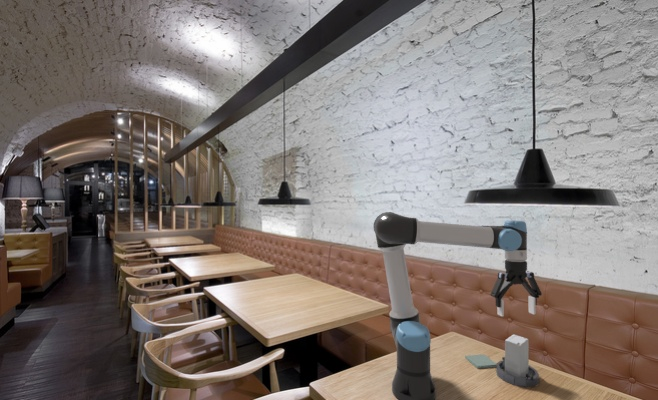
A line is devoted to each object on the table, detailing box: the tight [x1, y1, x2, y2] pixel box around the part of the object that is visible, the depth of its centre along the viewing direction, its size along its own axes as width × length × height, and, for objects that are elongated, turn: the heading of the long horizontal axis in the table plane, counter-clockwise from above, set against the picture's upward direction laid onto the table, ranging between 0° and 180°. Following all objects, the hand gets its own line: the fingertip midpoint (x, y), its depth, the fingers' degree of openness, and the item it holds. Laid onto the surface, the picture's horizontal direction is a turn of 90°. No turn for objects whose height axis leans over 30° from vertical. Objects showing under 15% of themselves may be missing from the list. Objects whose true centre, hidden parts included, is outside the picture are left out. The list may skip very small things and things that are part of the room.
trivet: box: [464, 353, 497, 369], centre depth 136 cm, size 9×9×1 cm
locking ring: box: [495, 356, 540, 388], centre depth 124 cm, size 14×15×4 cm
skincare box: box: [504, 334, 530, 378], centre depth 124 cm, size 8×6×15 cm
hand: (516, 314), depth 125 cm, fingers open, 13 cm apart
